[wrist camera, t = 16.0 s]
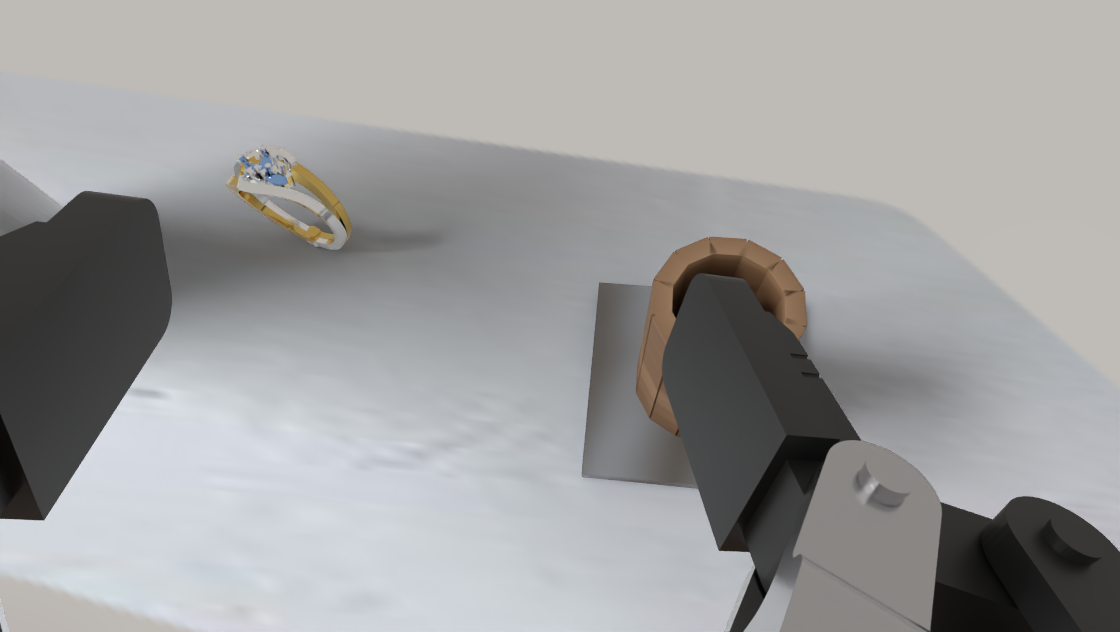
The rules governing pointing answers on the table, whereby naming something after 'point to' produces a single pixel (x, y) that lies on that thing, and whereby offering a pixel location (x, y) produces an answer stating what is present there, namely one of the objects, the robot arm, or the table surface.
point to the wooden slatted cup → (670, 287)
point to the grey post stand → (626, 400)
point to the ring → (289, 194)
